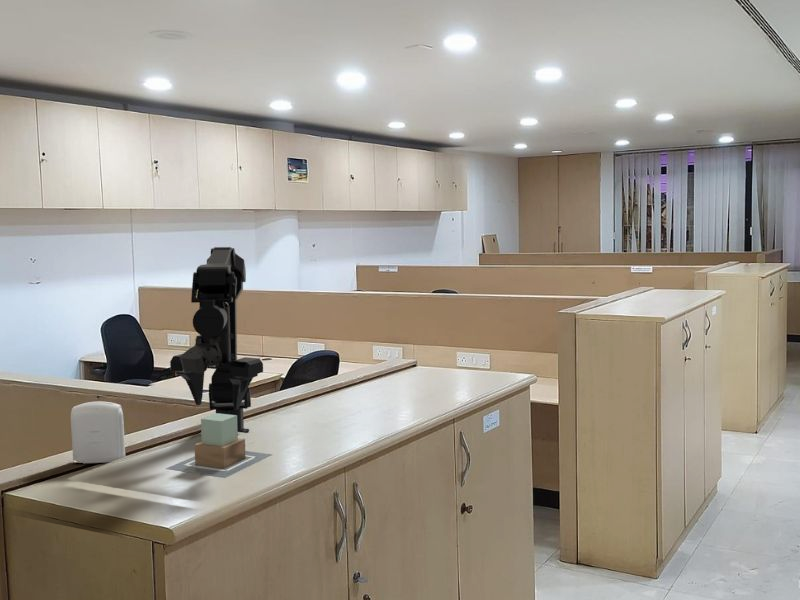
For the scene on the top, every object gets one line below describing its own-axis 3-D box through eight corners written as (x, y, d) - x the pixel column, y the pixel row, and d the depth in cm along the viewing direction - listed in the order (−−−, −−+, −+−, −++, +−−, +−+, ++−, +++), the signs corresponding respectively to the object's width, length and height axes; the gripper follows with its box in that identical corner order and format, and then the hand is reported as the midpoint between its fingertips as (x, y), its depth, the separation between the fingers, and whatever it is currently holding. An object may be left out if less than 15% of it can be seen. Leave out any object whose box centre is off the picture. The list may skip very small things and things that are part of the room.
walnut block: (217, 454, 159) (216, 435, 159) (245, 458, 156) (245, 439, 156) (195, 464, 153) (194, 444, 152) (224, 468, 150) (223, 448, 150)
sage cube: (217, 437, 158) (216, 413, 157) (237, 439, 156) (237, 415, 155) (201, 443, 153) (200, 418, 152) (222, 446, 151) (221, 421, 150)
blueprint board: (216, 451, 165) (216, 446, 165) (272, 459, 159) (272, 453, 159) (165, 473, 150) (165, 468, 150) (225, 482, 145) (225, 477, 145)
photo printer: (69, 465, 156) (67, 405, 155) (76, 459, 160) (73, 400, 159) (122, 463, 157) (120, 403, 156) (127, 457, 161) (125, 399, 160)
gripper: (149, 332, 150) (152, 411, 151) (229, 338, 142) (232, 421, 144) (187, 325, 160) (189, 399, 161) (263, 330, 152) (265, 407, 154)
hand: (217, 407), depth 155 cm, fingers open, 9 cm apart
